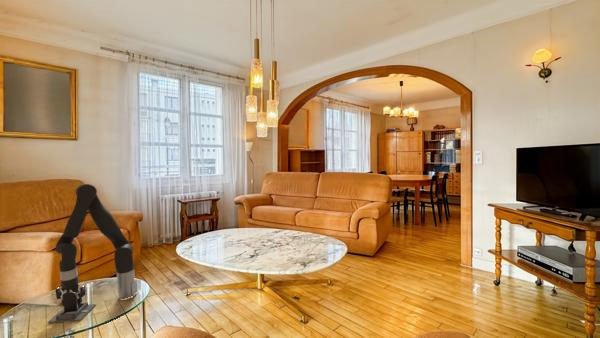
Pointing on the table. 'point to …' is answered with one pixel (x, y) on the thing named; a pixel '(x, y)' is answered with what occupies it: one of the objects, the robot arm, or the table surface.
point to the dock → (72, 314)
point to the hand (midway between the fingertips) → (72, 304)
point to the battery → (70, 302)
